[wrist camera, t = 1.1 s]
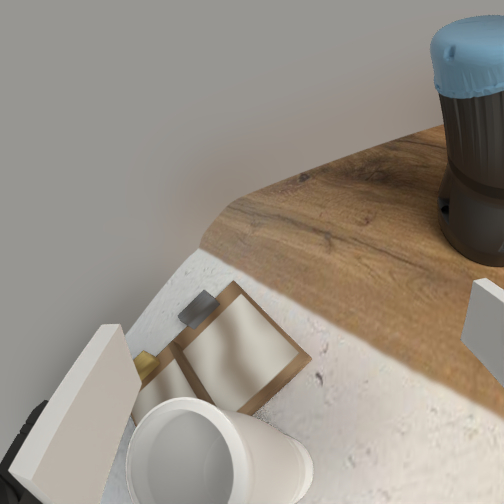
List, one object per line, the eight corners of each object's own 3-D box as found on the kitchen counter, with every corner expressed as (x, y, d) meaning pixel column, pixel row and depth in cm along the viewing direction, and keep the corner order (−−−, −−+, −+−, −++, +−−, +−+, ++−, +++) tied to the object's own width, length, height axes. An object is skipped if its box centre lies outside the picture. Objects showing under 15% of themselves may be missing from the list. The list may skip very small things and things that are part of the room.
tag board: (237, 284, 43) (221, 268, 40) (312, 358, 31) (298, 346, 29) (127, 392, 41) (106, 383, 38) (166, 480, 29) (142, 478, 26)
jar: (241, 420, 31) (141, 386, 21) (332, 428, 26) (263, 407, 16) (223, 504, 25) (112, 506, 15) (314, 524, 20) (228, 567, 10)
